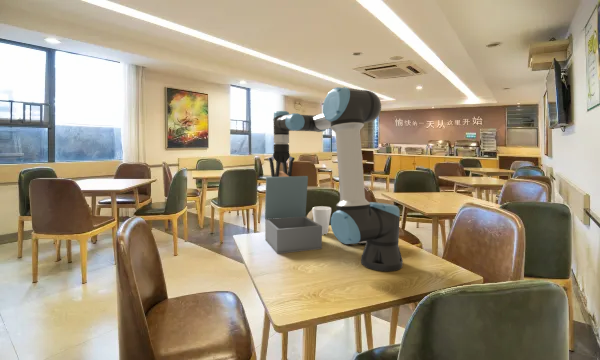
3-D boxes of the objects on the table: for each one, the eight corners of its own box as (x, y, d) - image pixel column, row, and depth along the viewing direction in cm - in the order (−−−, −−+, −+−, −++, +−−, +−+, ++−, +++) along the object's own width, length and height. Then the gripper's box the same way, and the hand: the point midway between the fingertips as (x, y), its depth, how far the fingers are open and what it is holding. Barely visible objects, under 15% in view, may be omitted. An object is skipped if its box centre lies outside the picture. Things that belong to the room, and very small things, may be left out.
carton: (321, 248, 139) (322, 226, 138) (277, 253, 132) (277, 229, 131) (305, 236, 158) (305, 216, 157) (265, 240, 151) (265, 219, 150)
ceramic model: (325, 229, 172) (325, 211, 171) (304, 230, 170) (304, 211, 169) (320, 223, 185) (321, 206, 184) (301, 223, 184) (301, 206, 183)
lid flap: (308, 176, 152) (299, 170, 163) (266, 177, 145) (260, 171, 156) (305, 216, 157) (297, 208, 168) (265, 219, 150) (259, 210, 161)
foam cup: (309, 234, 162) (309, 208, 161) (316, 230, 170) (317, 205, 169) (326, 236, 158) (326, 210, 156) (333, 232, 166) (334, 207, 164)
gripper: (293, 143, 163) (293, 190, 165) (264, 143, 158) (264, 191, 160) (298, 143, 156) (298, 192, 158) (268, 143, 151) (268, 193, 153)
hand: (281, 191), depth 159 cm, fingers closed on lid flap, 2 cm apart
